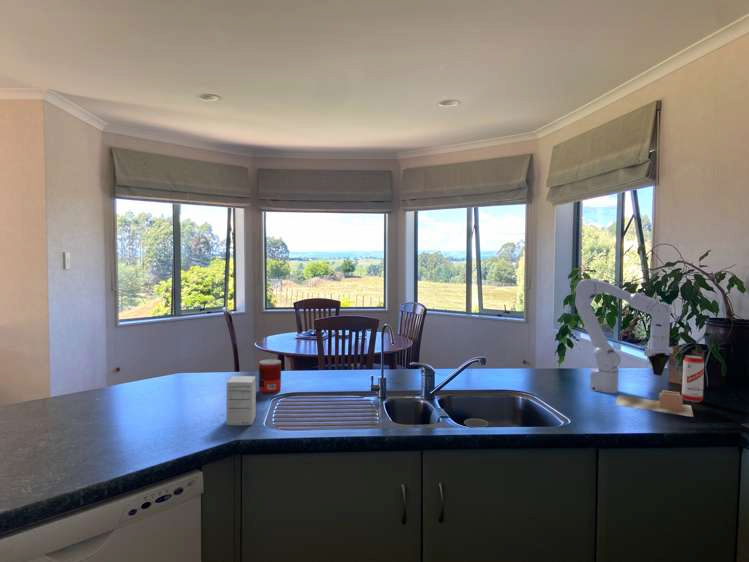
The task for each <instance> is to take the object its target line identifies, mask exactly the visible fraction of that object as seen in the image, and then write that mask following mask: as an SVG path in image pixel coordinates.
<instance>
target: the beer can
mask: <svg viewBox="0 0 749 562" xmlns="http://www.w3.org/2000/svg"><path fill="white" fill-rule="evenodd" d="M704 370H705V361H704V359H703V357H702V356H700V355H699V356H698V355H692V354H691V355H685V357H684V359H683V363H682V379H681V380H682V385H681V396H682V398H683V400H684V401H686V402H689V401H690V403H700V402H702V401H703V396H704V378H705V377H704V372H705V371H704Z"/></svg>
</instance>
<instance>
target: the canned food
mask: <svg viewBox="0 0 749 562" xmlns="http://www.w3.org/2000/svg"><path fill="white" fill-rule="evenodd" d="M281 388H282V361H281V360H280V359H275V358H274V359H273V358H272V359H271V358H269V359H262V360H259V362H258V391H259V393H260V394H264V395H271V394H277V393H279V392H280V391H281Z"/></svg>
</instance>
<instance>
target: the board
mask: <svg viewBox="0 0 749 562" xmlns="http://www.w3.org/2000/svg"><path fill="white" fill-rule="evenodd" d="M614 405H615V406H620V407H627V408H634V409H639V410H640V409H641V410H647V411H652V412H660V413H665V414H672V415H679V416H685V417H691V418H693V417H694V414H693V413H694V412H693V409H692V405H689V404H683V407H682V411H676V410H669V409H663V408H659V400H655V399H648V398H641V397H633V396H626V395H617V397H616V400H615V404H614Z"/></svg>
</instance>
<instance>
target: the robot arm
mask: <svg viewBox="0 0 749 562" xmlns="http://www.w3.org/2000/svg"><path fill="white" fill-rule="evenodd" d="M574 289H575V297H574V298H575V299H574V305H575V308H576V309H577V310H576V311H577V313H578V314H579V317H580V319H581V321H582V324H583V326H584V328H585V330H586V332H587V335H588V336H589V339H590V341H591V344H592V345H593V347H594V348H593V349H594V351H593V354H594V356H595V365H596V368H591V371H590V382H589V391H595V392H600V393H606V394H617V393H618V392H619V374H620V372H619V368H618V366H619V365H621V364H620V363H621V356H620V354H619V353H618V352H616V351H615V349H614V347H613V346H612V345H611V344H610V343H609V342H608V340H607V339H608V338H607V337H606V335H605V333H604V331H603V330H604V329H603V328H602V327H601V325H600V322H599V320H598V318H597V315H596V313H595V311H594V309H593V306H592V304H593V300H594V299H595V297H596V296H598V295H599V294H608V295H610V296H613V297H615V298H618V299H620V300H622V301H625V302H627V304H629V307H630V308H633V309H635V310H638V311H640V312H642V313H644V314H647V315H650V316H651V323H650V331H649V332H650V336H649V347H648V348H647V349H644V350H643V351H644V352H643V356H645V357H647V358H648V360H649V361H650V364H651V368H652V372H653V375H655V376H658V377H659V376H663V373H664V370H665V367H666V364H667V362H668V361H669V360H670V358H671V355H669V354H674V348H673V347H670V330H671V324H670V321H671V318H670V316H671V315H672V312H673V309H672V307H671V305H670V304H668V303H667V302H665V301H660V299H658V298H652V297H650V296H648V295H646V293H645V292H642V291H641V292H634V293H631V292H629V291H627V290H625V289H622V288H620V287H619V286H616V285H614V284H612V283H610V282H606V281H604V280H599V279H597V278H593V277H592V278H583V279H581V280H579V281H578V283H577V285H576V287H575V288H574Z"/></svg>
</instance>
